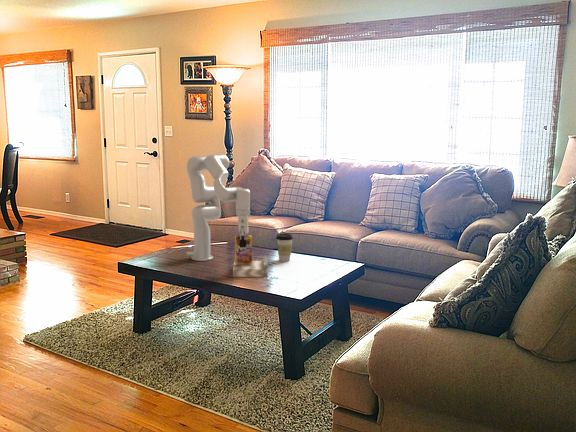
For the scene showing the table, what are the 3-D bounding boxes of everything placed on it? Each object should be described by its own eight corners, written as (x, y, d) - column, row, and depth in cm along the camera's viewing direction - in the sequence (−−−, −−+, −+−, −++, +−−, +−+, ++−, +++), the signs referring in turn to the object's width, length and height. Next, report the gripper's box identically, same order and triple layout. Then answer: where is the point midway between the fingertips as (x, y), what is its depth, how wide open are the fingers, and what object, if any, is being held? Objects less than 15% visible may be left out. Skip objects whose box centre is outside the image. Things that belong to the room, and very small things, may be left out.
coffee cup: (273, 261, 331) (273, 236, 329) (279, 257, 340) (280, 233, 338) (289, 263, 328) (289, 237, 325) (295, 259, 337) (295, 234, 334)
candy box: (235, 264, 304) (235, 236, 301) (234, 263, 308) (234, 235, 305) (252, 264, 305) (252, 236, 303) (250, 262, 310) (250, 234, 307)
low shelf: (232, 276, 298) (232, 264, 297) (234, 267, 316) (234, 256, 315) (267, 276, 299) (267, 264, 298) (267, 267, 317) (267, 256, 316)
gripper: (249, 214, 294) (249, 249, 297) (250, 209, 311) (250, 242, 314) (235, 214, 293) (235, 249, 297) (236, 209, 310) (236, 242, 313)
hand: (243, 245), depth 305 cm, fingers closed on candy box, 4 cm apart
